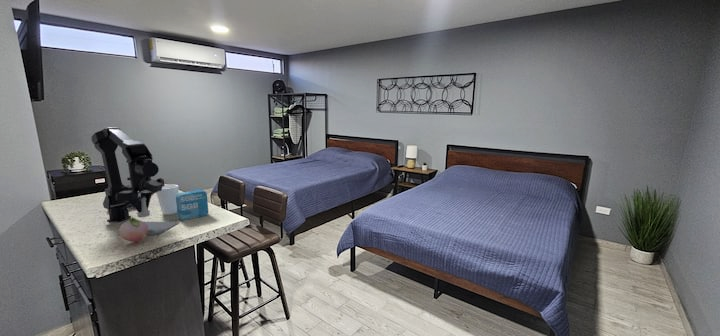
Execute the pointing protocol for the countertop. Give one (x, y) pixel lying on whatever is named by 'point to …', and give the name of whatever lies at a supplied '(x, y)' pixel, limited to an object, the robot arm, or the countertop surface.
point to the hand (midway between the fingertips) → (143, 210)
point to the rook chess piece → (143, 209)
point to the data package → (192, 204)
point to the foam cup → (168, 198)
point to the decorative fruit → (133, 230)
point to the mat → (159, 227)
